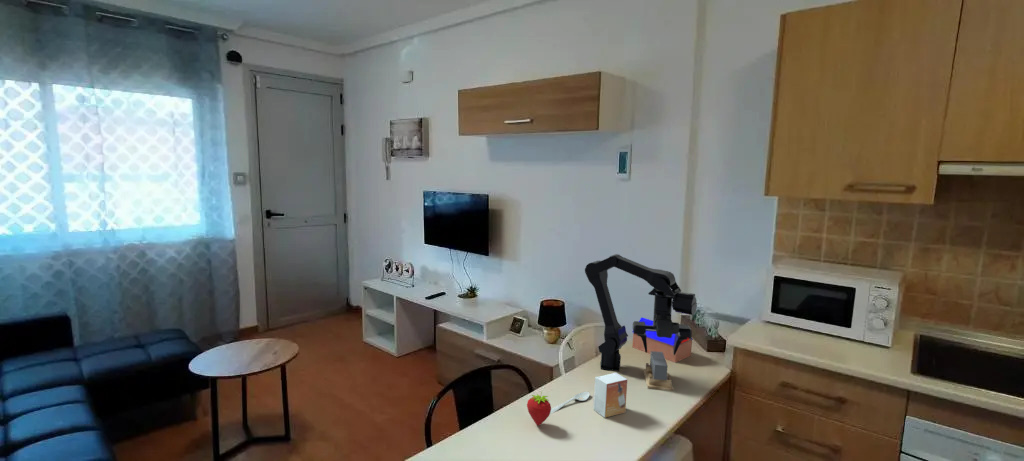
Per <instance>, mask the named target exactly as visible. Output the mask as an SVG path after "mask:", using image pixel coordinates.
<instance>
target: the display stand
mask: <svg viewBox="0 0 1024 461" xmlns="http://www.w3.org/2000/svg"><path fill="white" fill-rule="evenodd" d="M643 374H644V378H645V382H646V386H647V389H648V390H649V389H651V390H660V391H661V390H662V391H669V392H670V391H672V392H673V391H674V387H673V385H672V376H671V375H669V373H668V372H667V380H658V379H654V377H653V373H652V370H651V366H650V363H648V362H646V363H645V368H643Z"/></svg>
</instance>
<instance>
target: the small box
mask: <svg viewBox="0 0 1024 461" xmlns="http://www.w3.org/2000/svg"><path fill="white" fill-rule="evenodd" d="M627 391H628V379H627V378H626V377H624V376H623V375H621V374H619V373H618V372H613V373H608V374H604V375H600V376H595V377H594V394H593V411H595V412H596V413H597V414H599V415H600V416H601V417H602V418H605V419H606V418H609V417H612V416H616V415H620V414H625V413H626V408H627Z"/></svg>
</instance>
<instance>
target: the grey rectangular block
mask: <svg viewBox="0 0 1024 461" xmlns="http://www.w3.org/2000/svg"><path fill="white" fill-rule="evenodd" d="M649 361H650V362H649V365H650V366H651V370H652V373H653V377H654V379H658V380H667V373H668V363H667V360H666V359H665V357H664V355H663V352H654V351H651V354H650V360H649Z"/></svg>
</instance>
